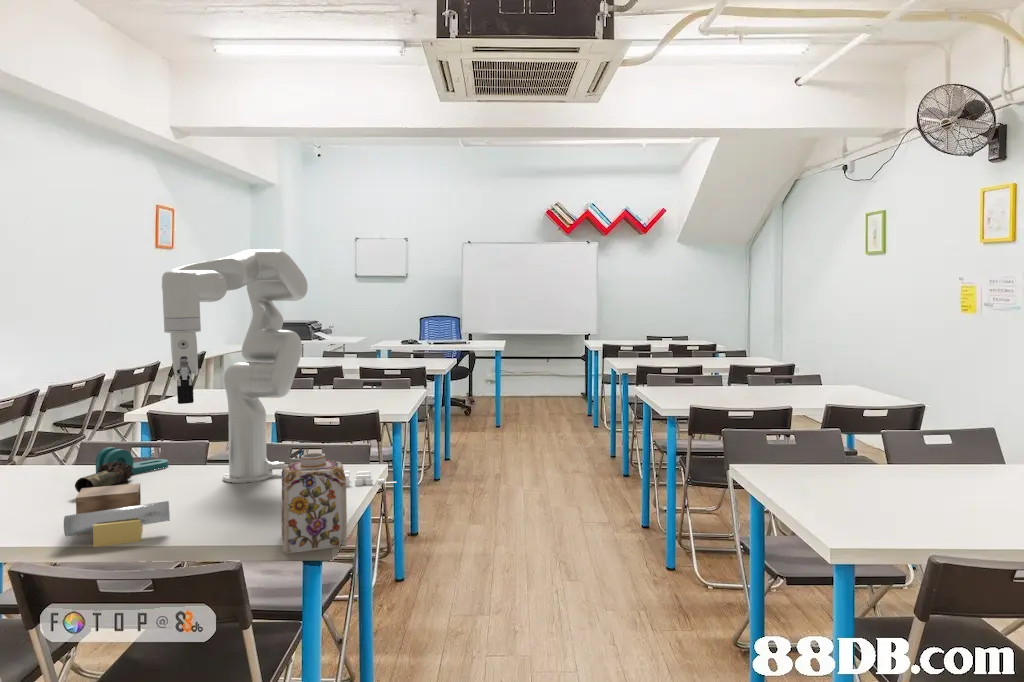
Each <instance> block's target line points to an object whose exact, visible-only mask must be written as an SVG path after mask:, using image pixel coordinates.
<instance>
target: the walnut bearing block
mask: <svg viewBox="0 0 1024 682" xmlns="http://www.w3.org/2000/svg"><path fill="white" fill-rule="evenodd" d="M141 498H142V497H141V483H139V482H138V483H128V484H115V485H109V486H103V487H91V488H82V489H81V490H80V492H78V494H76V497H75V514H81V513H88V512H95V511H102V510H109V509H116V508H123V507H130V506H137V505H142V503H141V500H142V499H141ZM91 534H92V535H93V533H87V534H81V535H82V536H83V535H91ZM81 535H80V536H81Z"/></svg>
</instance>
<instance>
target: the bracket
mask: <svg viewBox="0 0 1024 682" xmlns="http://www.w3.org/2000/svg"><path fill="white" fill-rule="evenodd" d="M116 461H117V463H120V462H122V463H125V464H127V465H131V466H133V468H132V473H133V474H134V475H137V474H138V473H139V474H143V473H142V472H144V473H147V472H146V471H149V472H151V471H150V470H154V469H158V468H163V467H167V468H168V467H169V460H168V459H163V458H156V459H149V460H143V461H137V462H134V457H133V454H131V452H130V451H128V450H126V449H122V448H117V447H112V446H108V447H104V448H103V449H101V450H100V451H99V452H98V453H97V454H96V457H95V474H96V473H97V472H98V468H99V466H101V465H102V464H106V463H108V462H111V463H112V462H116ZM154 471H155V470H154Z"/></svg>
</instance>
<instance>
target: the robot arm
mask: <svg viewBox="0 0 1024 682" xmlns="http://www.w3.org/2000/svg"><path fill="white" fill-rule="evenodd" d="M245 286H246V290H247V295H248V298H249V302H250V305H251V309H252V310H251V311H252V318H251V321H250V322H249V323H250V324H249V326H248V328H247V329H248V330H247V332H246V334H245V336H244V340H243V342H242V343H243V344H242V346H241V355H242V357H243V358H244V360H245V361H239V362H238V361H237V362H235V363H232V364H231V365H229V366H228V367H227V368H226V370H225V372H224V375H223V382H224V383H223V384H224V388H225V394H226V398H227V407H228V412H227V413H228V472H226V473H224V474H223V475H222V480H223V481H224V482H226V483H230V482H232V483H233V484H247V483H246V482H251V483H256V481H258V482H262V481H261V480H263V481H266V480H269V479H271V478H272V477H273V476H272V475H274V474H273V470H283V467H284V466H285V465H286V464H285V462H284V461H280V462H279V461H269V460H268V458H267V413H266V409H265V406H264V405H263V403H262V401H261V400H260V398H261V399H262V398H267V399H271V398H272V399H273V398H274V399H275V398H276V399H279V398H284V397H285V396H287V395H288V394H289V392H291V391H290V390H291V388H292V386H293V383H294V379H295V376H296V374H297V371H298V370H297V369H298V366H299V364H300V360H301V357H302V356H301V355H302V352H303V351H302V350H303V345H302V340H301V337H300V336H299V334H298V333H297V332H296V331H293V330H289V329H282V328H283V324H284V317H283V315H282V314H281V312H280V310H279V309H278V308H277V307H276V305H275V304H274V302H276V301H277V302H279V301H280V302H286V301H287V302H294V301H295V302H296V301H297V302H298V301H300V300H302V299H304V298H305V296H306V295H307V294H308V293H307V292H308V282H307V278H306V276H305V274H304V273H303V271H302V270H301V268H300V267H299V266H298V264H296V262H295V260H294V259H293V258H291V256H290V255H289V254H288V253H286V252H285V251H283V250H281V249H277V248H276V249H275V248H273V249H272V248H271V249H268V248H267V249H266V248H265V249H264V248H261V249H260V248H258V249H255V248H254V249H247V250H246V249H245V250H242V251H240V252H237V253H234V254H232V255H231V254H230V255H229V256H225V257H222V258H216V259H212V260H207V261H201V262H196V263H190V264H187V265H183V266H180V267H176V268H173V269H171V270H169V271H165V272H164V273H163V274H162V276H161V289H162V307H163V308H162V309H163V314H162V315H163V330H164V331H163V332H164V333H166V334H170V351H171V363H172V368H173V373H174V376H175V377H177V380H176V381H177V383H176V384H177V386H176V389H177V390H176V391H177V392H176V393H177V394H176V395H177V403H178V404H179V405H183V404H184V405H185V404H193V403H194V385H193V384H194V383H193V378H192V374H194V376H197V375H198V374H199V361H198V360H199V359H198V357H199V356H198V355H199V354H198V341H197V333H199V332H201V331H202V329H201V328H202V327H201V326H202V325H201V304H200V303H214V302H218V301H221V300H222V299H223V298H224V297H225V296H226V294H227V292H229V291H234V290H239V289H241V288H243V287H245ZM271 476H272V477H271ZM270 477H271V478H270ZM268 478H269V479H268ZM265 479H266V480H265ZM232 483H231V484H232Z"/></svg>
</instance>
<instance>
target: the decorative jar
mask: <svg viewBox="0 0 1024 682" xmlns="http://www.w3.org/2000/svg"><path fill="white" fill-rule="evenodd" d="M284 465H285V466H284V467H283V469H281V505H280V506H281V507H280V510H281V511H280V513H281V514H280V515H281V521H280V522H281V536H282V546H283V547H282V548H283V549H282V550H283V554H294V553H300V552H309V551H315V550H325V549H333V548H340V547H347V537H348V535H347V532H348V531H347V527H348V524H347V523H348V522H347V521H348V518H347V517H348V515H347V514H348V513H347V512H348V511H347V508H348V507H347V505H348V504H347V485H346V478H345V474H344V471H345V470H344V465H343V463H341V461H335V460H333V459H327V458H326V454H325V453H323V452H312V453H311V452H310V453H305V454H302V455H301V456H300V460H299V461H294V462H291V463H288V464H284Z"/></svg>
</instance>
